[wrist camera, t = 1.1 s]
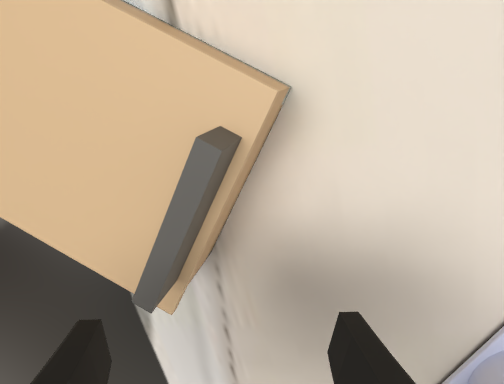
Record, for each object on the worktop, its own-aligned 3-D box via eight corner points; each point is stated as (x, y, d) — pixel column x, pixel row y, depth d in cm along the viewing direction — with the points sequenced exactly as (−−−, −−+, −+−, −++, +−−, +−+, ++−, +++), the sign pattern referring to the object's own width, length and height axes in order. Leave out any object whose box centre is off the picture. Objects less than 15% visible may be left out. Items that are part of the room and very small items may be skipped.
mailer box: (291, 86, 18) (274, 92, 14) (209, 254, 23) (177, 299, 18) (-20, -74, 19) (-132, -118, 15) (-36, 117, 24) (-124, 129, 20)
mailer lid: (280, 90, 13) (263, 96, 10) (176, 307, 18) (146, 351, 15) (-145, -129, 14) (-264, -178, 12) (-133, 131, 19) (-214, 141, 17)
